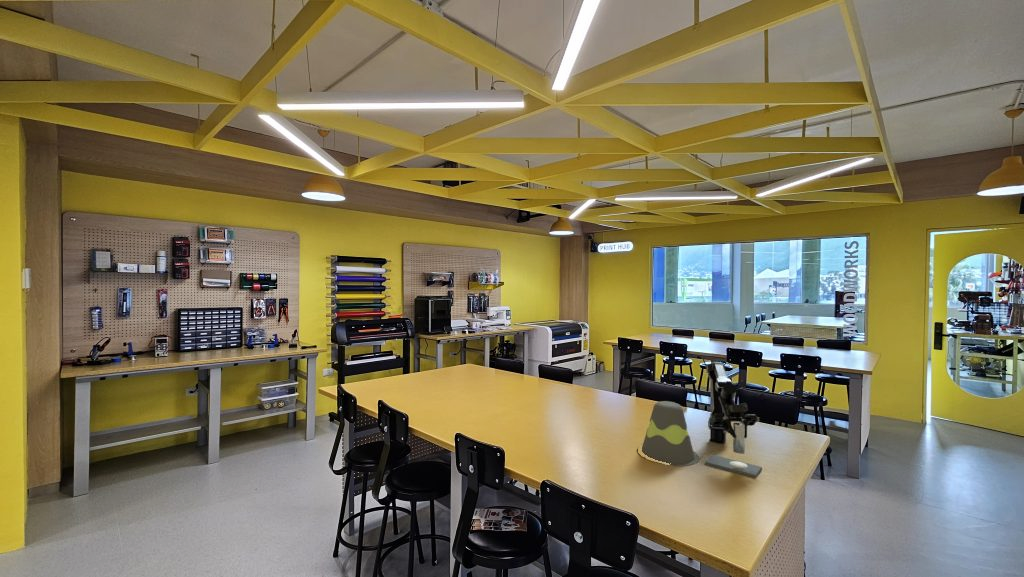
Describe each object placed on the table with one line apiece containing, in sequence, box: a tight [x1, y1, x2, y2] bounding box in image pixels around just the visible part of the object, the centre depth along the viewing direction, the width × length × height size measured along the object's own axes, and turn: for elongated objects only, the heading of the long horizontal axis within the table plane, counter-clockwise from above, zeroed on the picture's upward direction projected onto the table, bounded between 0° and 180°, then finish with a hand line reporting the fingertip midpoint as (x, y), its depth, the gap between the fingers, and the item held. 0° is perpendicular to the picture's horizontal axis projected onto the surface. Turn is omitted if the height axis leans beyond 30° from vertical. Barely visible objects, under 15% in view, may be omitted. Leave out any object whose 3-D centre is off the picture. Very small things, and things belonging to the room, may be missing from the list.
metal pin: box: [732, 422, 746, 455], centre depth 185 cm, size 4×4×12 cm
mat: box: [704, 454, 763, 479], centre depth 185 cm, size 20×11×1 cm, turn 48°
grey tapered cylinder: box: [642, 400, 701, 467], centre depth 200 cm, size 28×28×24 cm
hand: (740, 437), depth 183 cm, fingers closed on metal pin, 4 cm apart
